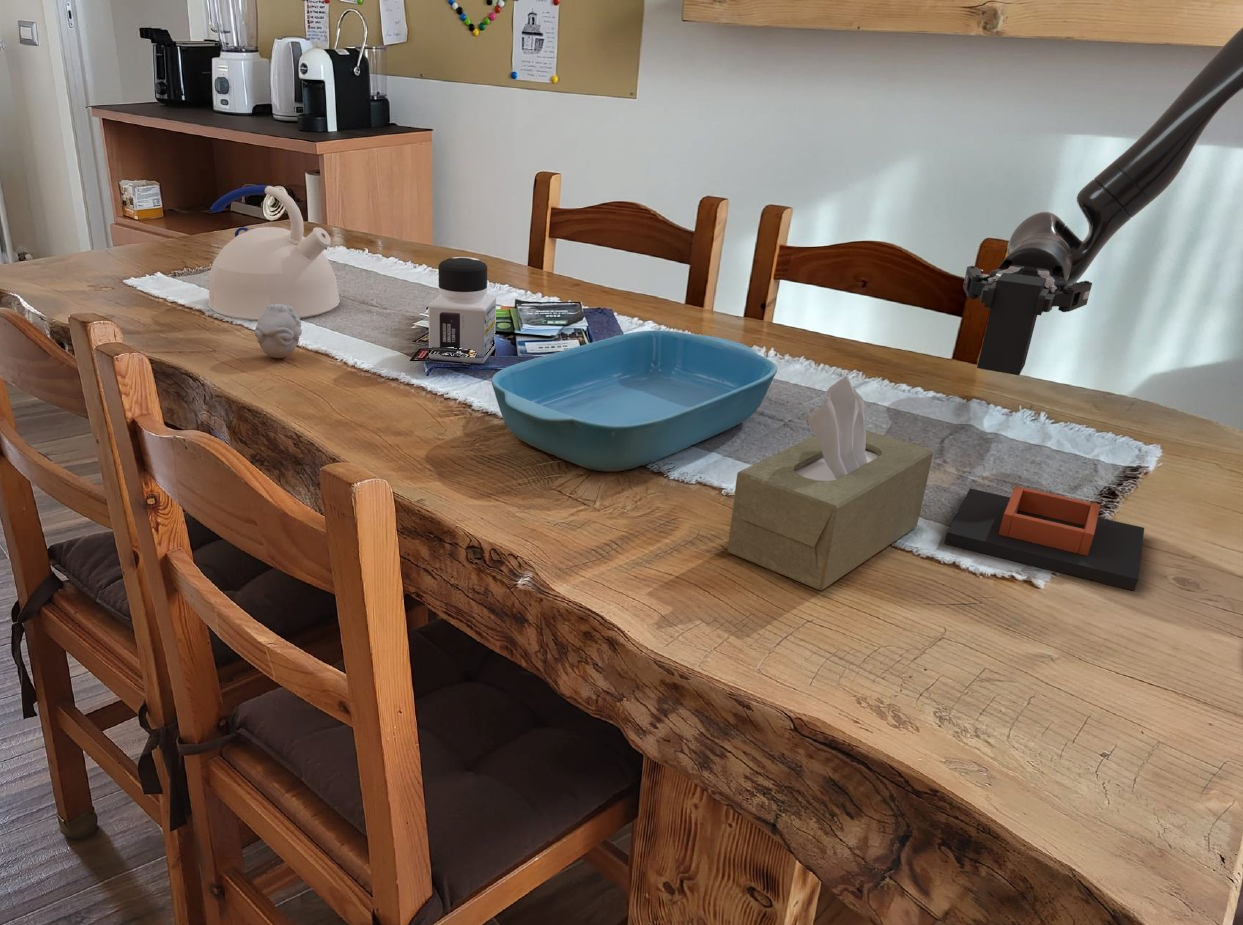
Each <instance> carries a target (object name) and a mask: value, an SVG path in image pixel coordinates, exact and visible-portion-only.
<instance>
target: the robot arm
mask: <svg viewBox="0 0 1243 925" xmlns="http://www.w3.org/2000/svg"><path fill="white" fill-rule="evenodd" d="M1241 91H1242V92H1243V26H1242V27H1241V28H1240V29H1239V30H1238V31H1237V32H1236V33H1234V35H1233V36H1232V37H1231V38H1229V40H1227V42H1226V43H1225V44H1224V45H1223V46H1222V47H1221V48H1220V49H1219V50H1218V52H1217V53H1216V54H1215V55H1214V56H1213V57H1212V58H1211V59H1210V61H1208V63H1207V64H1206V65H1205V66H1204V67H1203V68H1202V69H1201V71H1200V72H1198V74H1197V75H1196V76H1195V77H1194V78H1193V79H1192V80H1191V81H1190V82H1189V84H1188V85H1187V86H1186V87H1185V88H1184V90H1183V91H1182V92H1180V94H1179V95H1178V96H1177V97H1176V99H1175V100H1174V101H1173V102H1172V103H1171V104H1170V105H1169V107H1168V108H1167V109H1165V111H1164V112H1163V113H1162V114H1161V115H1160V116H1159V118H1158V119H1157V120H1156V121H1155V122H1154V123H1153V124H1152V125H1151V126H1150V127H1149V128H1148V129H1147V130H1146V131H1145V132H1144V133H1143V134H1142V135H1141V136H1140V137H1139V138H1138V139H1137V140H1136V141H1135V142H1134V143H1133V144H1132V145H1131V146H1130V147H1129V148H1128V149H1126V150H1125V151H1124V152H1122V154H1121V155H1119V156H1118V157H1117V158H1116V159H1115V160H1113V161H1112V162H1111V163H1110V164H1109V165H1108V166H1107V167H1106V168H1105V169H1103V170H1102V171H1101V172H1100V173H1098V174H1097V175H1096V176H1095V177H1094V178H1093V179H1092V180H1090V182H1088V183H1087V184H1086V185H1085V186H1084V187H1082V188H1081V190H1079V192H1078V193H1077V195H1076V203H1077V206H1078V207H1079V209H1080V211H1081V212H1082V214H1083V215H1084V217H1085V220H1086V221H1087V223H1088V232H1087V234H1086V236H1085V238H1084V239H1083V240H1082V239H1080V238H1079V236H1077V235H1076V234H1075V232H1074V231H1073V230H1071V228H1070V227H1069V226H1068V225H1066V223H1065V222H1064V221H1063V220H1062V219H1061V218H1060V217H1059V216H1057V214H1055V213H1053V212H1049V211H1041V212H1037V213H1034V214H1032V215H1030V216H1029V217H1027V218H1025V219H1024V220H1022V222H1021V223H1020V224H1019V225H1018V226H1017V227H1016V228H1015V229H1014V230H1013V232H1012V233H1011V236H1010V238H1009V240H1008V243H1007V256H1005V257H1004V260H1002V262H1001V263H1000V264H999V266H998V268H996V269H992V270H990V272H989V274H988V273H983V272H984V269H980V268H979V267H977V266H975V265H969V266H968V265H967V267H966V271H965V276H964V280H963V285H962V289H963V291H964V292H965V294H966V297H967V298H969V299H971V300H976V299H979V302H980V303H981V304H984V306H983V307H984V308H987V309H991V307H992V302H993V298H994V293H995V289H996V288H995V287H996V283H997V280H998V279H999V277H1000V276H1001V275H1002V274H1003V273H1011V274H1019V275H1026V276H1033V277H1041V278H1046V283H1045V286H1044V289H1043V290H1042V291H1041V293H1040V294H1039V296H1038V300H1037V304H1036V308H1035V312H1034V315H1037V316H1042V314H1043V313H1050V312H1051V311H1052V310H1053V308H1054V307H1058V308H1057V310H1058V312H1059V311H1060V312H1061V313H1069V312H1071V311H1074V310H1077V309H1079V308H1083V307H1084V306H1087V305H1088V301H1089V298H1090V295H1091V294H1090V293H1091V290H1092V286H1093V282H1091V281H1089V280H1082V281H1079V280H1080V279H1081V277H1082V276H1083V275H1084V274H1085V273H1086V271H1087V270H1088V269H1089V267H1090V266H1091V264H1092V263H1093V261H1095V259H1096V257H1097V255H1098V254H1099V253H1100V252H1101V250H1102V249H1103V248H1104V247H1105V245H1107V243H1108V242H1109V241H1110V240H1111V239H1112V237H1113V236H1114V235H1115V234H1116V233H1117V232H1118V231H1119V230H1120V229H1121V228H1122V227H1123V226H1124V225H1125V224H1127V223H1128V222H1129V221H1130V220H1131V219H1132V218H1134V217H1135V216H1136V215H1137V214H1139V213H1140V212H1141V211H1143V210H1144V209H1145V208H1146V207H1147V206H1148V205H1149V204H1151V203H1152V202H1153V201H1154V200H1155V199H1156V198H1158V197H1159V196H1160V195H1161V194H1162V193H1163V192H1164V191H1166V190H1167V188H1168V187H1170V185H1171V184H1172V183H1173V182H1174V180H1175V179H1176V177H1177V176H1178V174H1179V173H1180V171H1181V170H1182V169H1183V167H1184V165H1185V163H1186V161H1187V160H1188V158H1189V156H1190V155H1191V153H1192V151H1193V150H1194V147H1195V146H1196V144H1197V142H1198V140H1199V139H1200V137H1201V135H1202V133H1203V132H1204V130H1205V129H1206V128H1207V127H1208V125H1209V123H1210V122H1211V120H1212V119H1213V118H1214V117H1215V115H1216V114H1217V113H1218V112H1219V111H1220V110H1221V109H1222V108H1223V107H1224V106H1225V105H1226V103H1227V102H1228V101H1230V100H1231V99H1232V98H1233V97H1234V96H1235V95H1236V94H1238V93H1239V92H1241ZM1078 281H1079V282H1078Z"/></svg>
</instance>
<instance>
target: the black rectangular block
mask: <svg viewBox="0 0 1243 925" xmlns="http://www.w3.org/2000/svg"><path fill="white" fill-rule="evenodd" d="M1045 283H1046V278H1041V277H1033V276H1026V275H1019V274H1011V273H1003V274H1002V275H1001V276H1000V277H999V279H998V280H997V283H996V287H995V288H996V289H995V293H994V298H993V302H992V307H991V308H989V309H990V310H989V314H988V317H987V322H986V326H985V331H984V336H983V340H982V345H981V349H980V353H979V357H978V361H977V366H976V368H977V369H979V370H985V371H991V372H996V373H1003V374H1009V375H1014V376H1020V374H1021V373H1022V371H1023V369H1024V367H1025V366H1026V362H1027V357H1028V353H1029V350H1030V346H1031V342H1032V337H1033V333H1034V330H1035V326H1036V322H1037V318H1038V315H1034V312H1035V308H1036V304H1037V300H1038V296H1039V294H1040V293H1041V291H1042V290H1043V289H1044V286H1045Z"/></svg>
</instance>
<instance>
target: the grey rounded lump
mask: <svg viewBox="0 0 1243 925" xmlns="http://www.w3.org/2000/svg"><path fill="white" fill-rule="evenodd" d="M256 322H257V324H256V326H255V329H254V336H255V337H256V338H257V340H256V342H257V343H258V344H259V346H260V348H261V350H262V351H263V353H264V354H266V355H267V356H268V357H271V358H273V359H283V358H286V357H289V356H291V354H292V353H293V352H294V351H295V350H296V347H298V343H299V340H300V336H301V335H302V333H303V332H302V331H303V330H302V322H301V319H299V317H298V316H297V314H296V313H295V312H294V309H293V307H292V306H286V305H284V304H272V305H268V306H267V310H266V311H265V312H264V313H263V315H262V316H261V317H260V318H259V319H258V321H256Z"/></svg>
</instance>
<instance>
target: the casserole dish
mask: <svg viewBox="0 0 1243 925" xmlns="http://www.w3.org/2000/svg"><path fill="white" fill-rule="evenodd" d="M777 372H778V365H777V364H776V363H775V362H774V361H772V360H770V359H769V358H767V357H766V356H764V355H761V354H759V353H757V352H756V351H755V350H754V349H752V348H751V347H749V345H745V344H743V343H740V342H737V341H734V340H731V339H727V338H723V337H717V336H712V335H705V334H695V333H687V332H681V331H674V330H673V331H672V330H659V329H657V330H656V329H652V330H640V331H634V332H627V333H623V334H619V335H615V336H611V337H607V338H604V339H600V340H596V341H593V342H589V343H586V344H583V345H579V346H575V347H572V348H568V349H564V350H561V351H557V352H553V353H550V354H546V355H541V356H537V357H535V358H531V359H528V360H525V361H522V362H519V363H515V364H512V365H510V366H507V367H503V368H502V369H500V370H498V371H497V372H495V373H494V374H493V376H492V377H491V378H490V379H491V386H492V388H493V389H492V390H493V392H494V394H495V398H496V402H497V405H498V408H499V412H500V414H501V417H502V419H503V422H504V423H505V425H506V427H507V429H508V430H509V431H510V432H511V433H512V434H513V435H514V436H515V437H516V438H518V439H519V440H520V441H521V442H523V443H525V444H527V445H529V446H531V447H533V448H535V449H537V450H539V451H541V452H543V453H546V454H548V455H552V456H555V457H556V458H559V459H561V460H563V461H565V462H569V463H571V464H574V465H576V466H579V467H580V468H581V467H582V468H585V469H587V470H592V471H596V472H605V473H607V472H608V473H610V472H611V473H612V472H613V473H614V472H615V473H616V472H623V471H624V472H625V471H628V470H629V471H630V470H632V469H636V468H640V467H642V466H645V465H648V464H651V463H653V462H656V461H659V460H661V459H664V458H666V457H668V456H671V455H673V454H675V453H678V452H680V451H682V450H683V451H684V450H685V449H687V448H689V447H691V446H692V445H693V446H694V445H697V444H698V443H701V442H703V441H706V440H708V439H711V438H712V437H714V436H717V435H719V434H721V433H724V432H726V431H729V430H730V429H732V428H733V427H735V426H736V427H737V426H738V425H740V424H742V423H744V422H745V421H746V420H748V419H749V418H751V416H752V415H753V414H755V412H756V411H757V410H758V409H759V407H760V406H761V405H762V403H763V401H764V399H765V397H766V394H767V393H768V390H769V389H770V386H771V384H772V382H773V380H774V378H775V376H776V374H777Z"/></svg>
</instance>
